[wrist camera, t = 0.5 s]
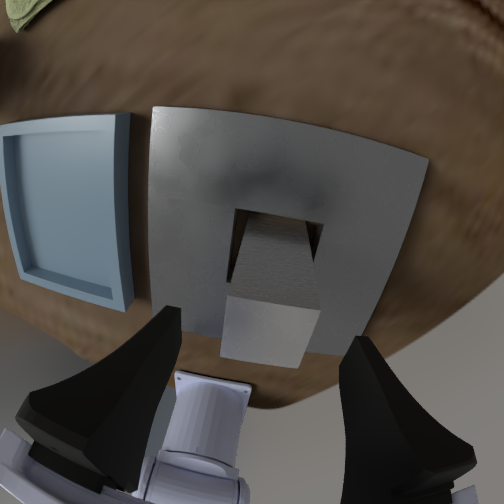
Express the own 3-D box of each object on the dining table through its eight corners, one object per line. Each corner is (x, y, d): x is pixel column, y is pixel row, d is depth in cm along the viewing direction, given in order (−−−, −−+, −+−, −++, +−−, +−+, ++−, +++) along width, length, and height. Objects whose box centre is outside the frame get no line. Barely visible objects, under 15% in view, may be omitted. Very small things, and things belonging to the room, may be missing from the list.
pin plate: (346, 339, 23) (350, 356, 21) (161, 308, 23) (153, 324, 22) (415, 153, 16) (429, 159, 14) (165, 105, 16) (153, 106, 14)
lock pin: (293, 267, 20) (297, 368, 12) (243, 258, 20) (219, 356, 12) (305, 220, 19) (320, 310, 11) (250, 210, 19) (227, 295, 11)
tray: (134, 297, 23) (125, 312, 21) (31, 268, 23) (20, 278, 22) (130, 112, 16) (115, 114, 14) (12, 121, 16) (-4, 125, 14)
